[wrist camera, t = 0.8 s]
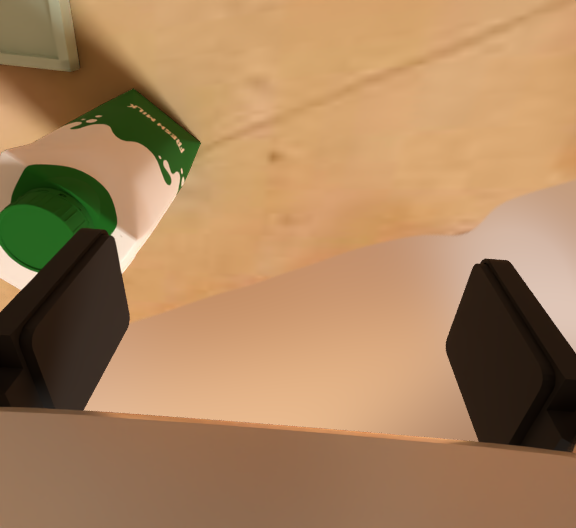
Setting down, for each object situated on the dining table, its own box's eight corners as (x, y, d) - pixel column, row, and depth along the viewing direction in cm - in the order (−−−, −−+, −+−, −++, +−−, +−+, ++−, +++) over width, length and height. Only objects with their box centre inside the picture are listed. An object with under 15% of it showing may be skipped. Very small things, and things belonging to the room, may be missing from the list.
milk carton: (215, 141, 38) (139, 262, 21) (161, 210, 42) (61, 357, 25) (129, 71, 35) (-38, 145, 18) (80, 151, 39) (-95, 273, 22)
